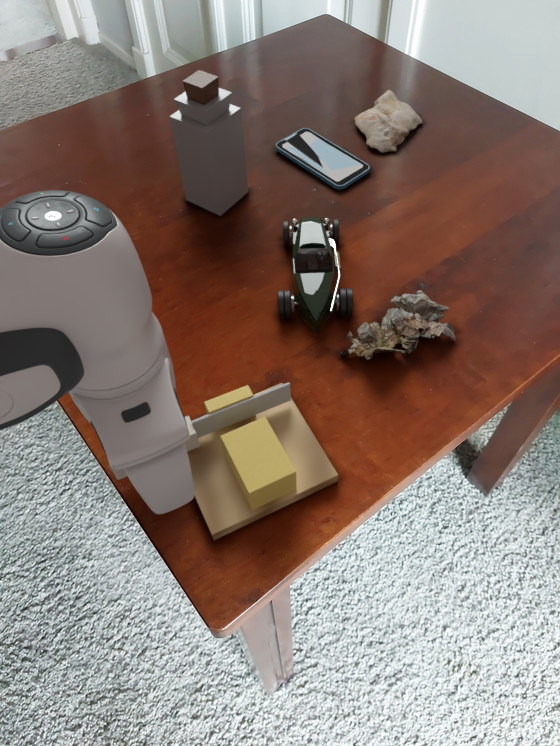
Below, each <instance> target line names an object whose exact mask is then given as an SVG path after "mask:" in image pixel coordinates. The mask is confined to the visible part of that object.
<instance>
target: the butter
mask: <svg viewBox="0 0 560 746" xmlns="http://www.w3.org/2000/svg"><path fill="white" fill-rule="evenodd" d="M220 437H221V442H222V446H223V450H224V455H225V457H226V459H227V461H228V463H229V465H230V467H231V469H232V471H233V473H234V475H235V477H236V479H237V481H238V483H239V485H240V487H241V489H242V491H243V493H244V495H245V497H246V499H247V501H248V503H249V506H250V508H251V510H254V509H256V508H258V507H260V506H262V505H265V504H267V503H269V502H271V501H273V500H275V499H277V498H279V497H281V496H284V495H286V494H288V493H290V492H292V491H294V490H296V489H297V482H296V470H295V468H294V467H293V465H292V463H291V461H290V459H289V458H288V456H287V454H286V452H285V451H284V449H283V447H282V445H281V444H280V442H279V440H278V438H277V436H276V435H275V433H274V431H273V429H272V428H271V426H270V424H269V422H268V420H267V419H266V417H263V418H260V419H258V420H256V421H253V422H251V423H249V424H247V425H244V426H242V427H240V428H237V429H235V430H233V431H230V432H228V433H226V434H224V435H221V436H220Z"/></svg>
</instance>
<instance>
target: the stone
mask: <svg viewBox="0 0 560 746" xmlns="http://www.w3.org/2000/svg"><path fill="white" fill-rule="evenodd" d="M353 120H354V122H355V123H354V125H355V126H356V127H357V128H358V129H359V131H360V132H361V133H362V134H364V135H365V137H366V143H365V144H366V145H367V146H369V147H370V149H376V150H377V151H379V152H380V153H388V152H397V150H398V148H397V146H398V145H401V144H402V143H403V142H404V141H405V139H406V138H407V136H409V133H410V131H413V130H415V129H417V127H418V125H420V124H422V123H423V120H422V118H421V116H419V115H418V113H417V112H416V111H415V110H414V109H413V107H412V106H411V105H410V104H409V103H407V102H404V101H400V100H399V99H398V97H397V96H396V94H395V93H394V91H392V90H390V89H388V90H386V91H385V92H384V93H383V94H381V96H379V97H378V98H377V99H376V100H374V103H373V107H372V108H369V109H366V110H364V111H363V112H361V113H359V114H358V115H356V116H355V117H354V119H353Z"/></svg>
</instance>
